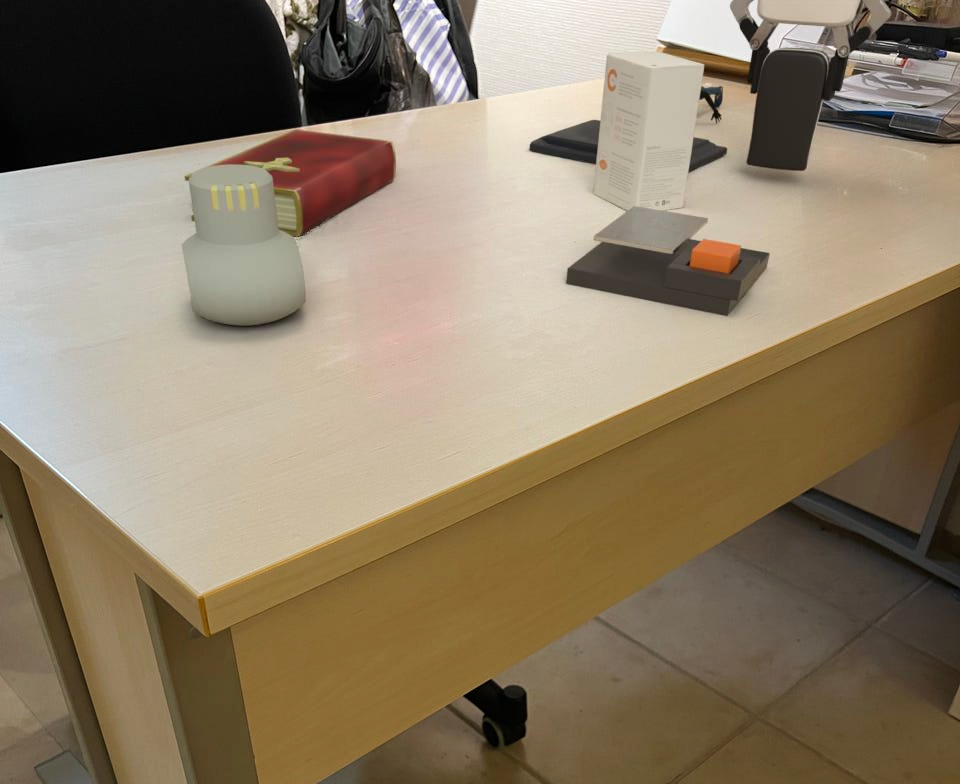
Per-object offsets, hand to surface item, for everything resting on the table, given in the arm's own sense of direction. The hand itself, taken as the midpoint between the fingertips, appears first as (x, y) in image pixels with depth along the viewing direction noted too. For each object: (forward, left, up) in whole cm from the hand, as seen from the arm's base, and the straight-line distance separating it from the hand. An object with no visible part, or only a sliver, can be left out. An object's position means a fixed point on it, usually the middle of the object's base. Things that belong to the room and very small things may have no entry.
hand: (792, 93), depth 102 cm
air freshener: (+27, +62, -9) cm, 68 cm away
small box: (+10, +17, -9) cm, 22 cm away
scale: (0, +37, -9) cm, 38 cm away
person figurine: (+19, -26, -9) cm, 33 cm away
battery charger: (0, 0, -7) cm, 7 cm away
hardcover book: (+41, +35, -9) cm, 54 cm away
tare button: (-4, +40, -6) cm, 41 cm away
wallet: (+18, -2, -9) cm, 21 cm away
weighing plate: (+3, +35, -6) cm, 36 cm away
